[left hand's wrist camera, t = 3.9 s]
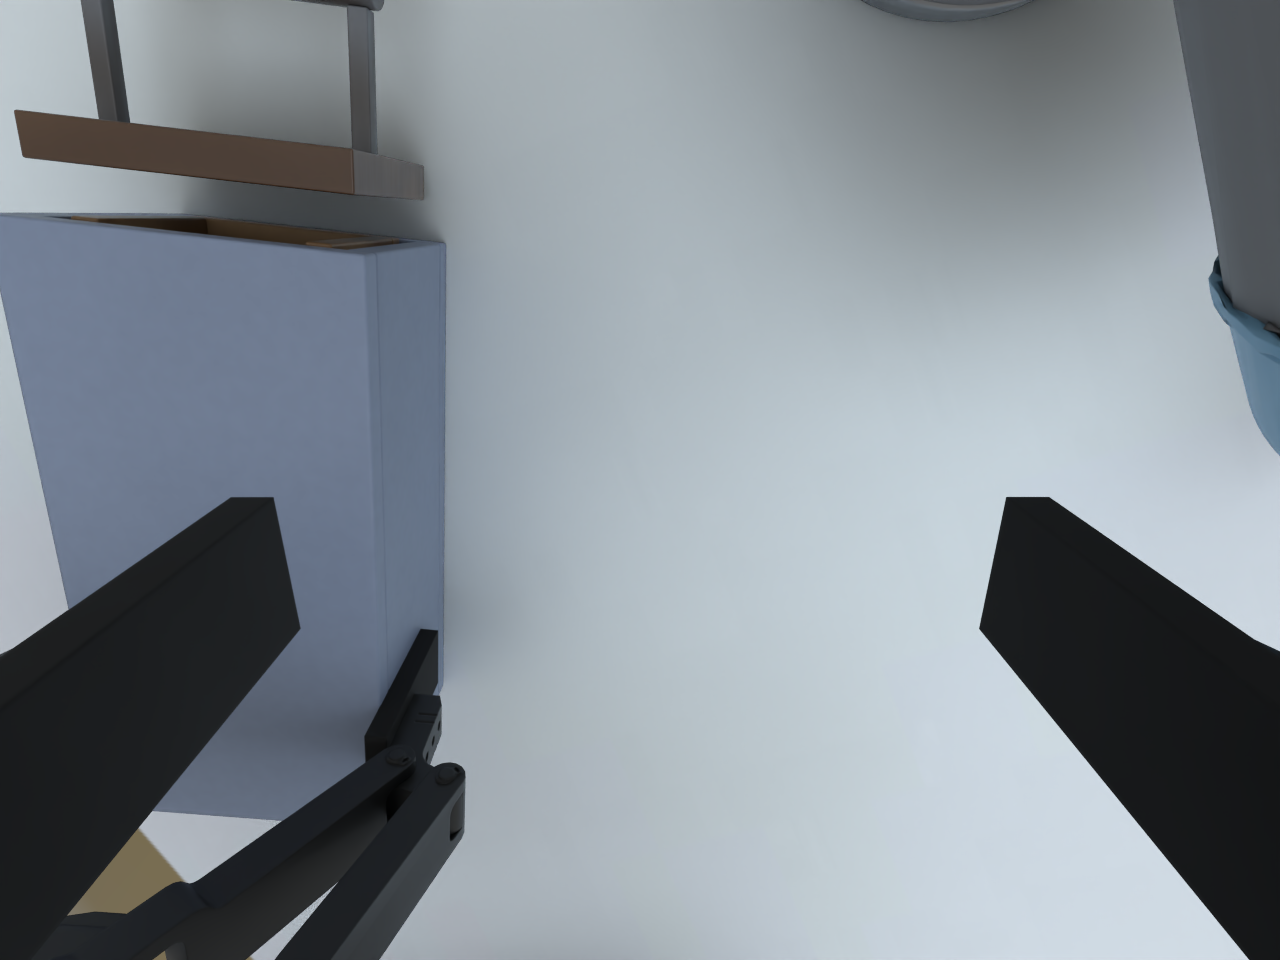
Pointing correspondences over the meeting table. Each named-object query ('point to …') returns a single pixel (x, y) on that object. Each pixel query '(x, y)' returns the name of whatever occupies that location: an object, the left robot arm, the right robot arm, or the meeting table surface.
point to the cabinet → (246, 454)
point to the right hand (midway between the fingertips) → (299, 644)
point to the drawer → (227, 143)
